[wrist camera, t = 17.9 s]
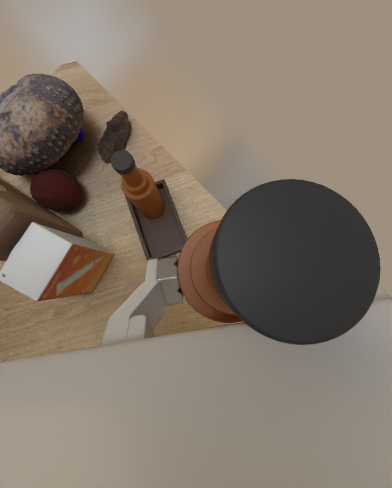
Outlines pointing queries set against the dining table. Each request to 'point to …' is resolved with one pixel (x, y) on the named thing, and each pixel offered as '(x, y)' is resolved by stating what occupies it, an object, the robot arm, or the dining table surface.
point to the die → (80, 135)
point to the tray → (159, 228)
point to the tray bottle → (138, 185)
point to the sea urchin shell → (37, 123)
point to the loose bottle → (284, 264)
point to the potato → (56, 190)
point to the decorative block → (23, 218)
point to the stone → (114, 136)
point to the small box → (54, 264)
